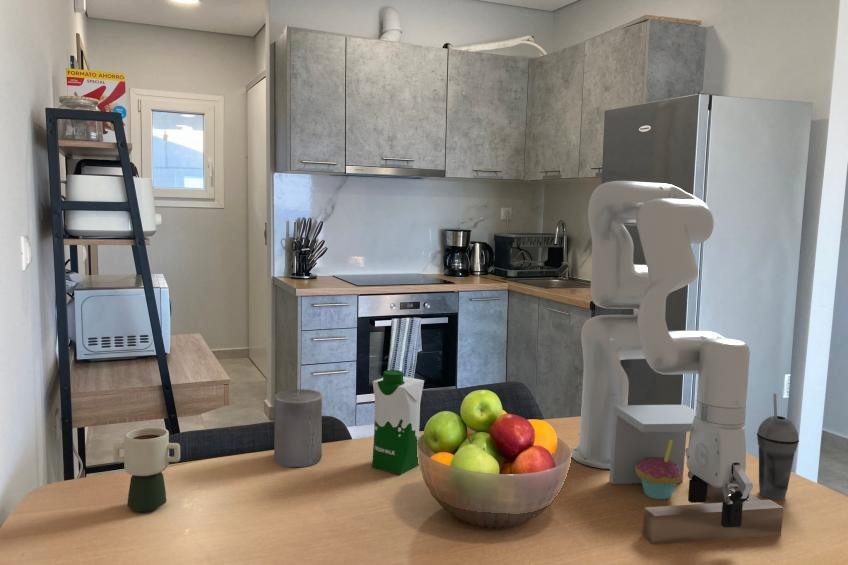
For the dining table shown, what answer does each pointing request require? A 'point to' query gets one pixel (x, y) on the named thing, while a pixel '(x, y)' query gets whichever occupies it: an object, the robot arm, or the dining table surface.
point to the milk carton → (396, 422)
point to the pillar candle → (298, 428)
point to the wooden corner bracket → (710, 520)
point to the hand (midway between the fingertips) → (713, 513)
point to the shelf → (647, 437)
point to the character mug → (146, 465)
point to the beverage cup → (776, 454)
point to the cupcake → (659, 475)
